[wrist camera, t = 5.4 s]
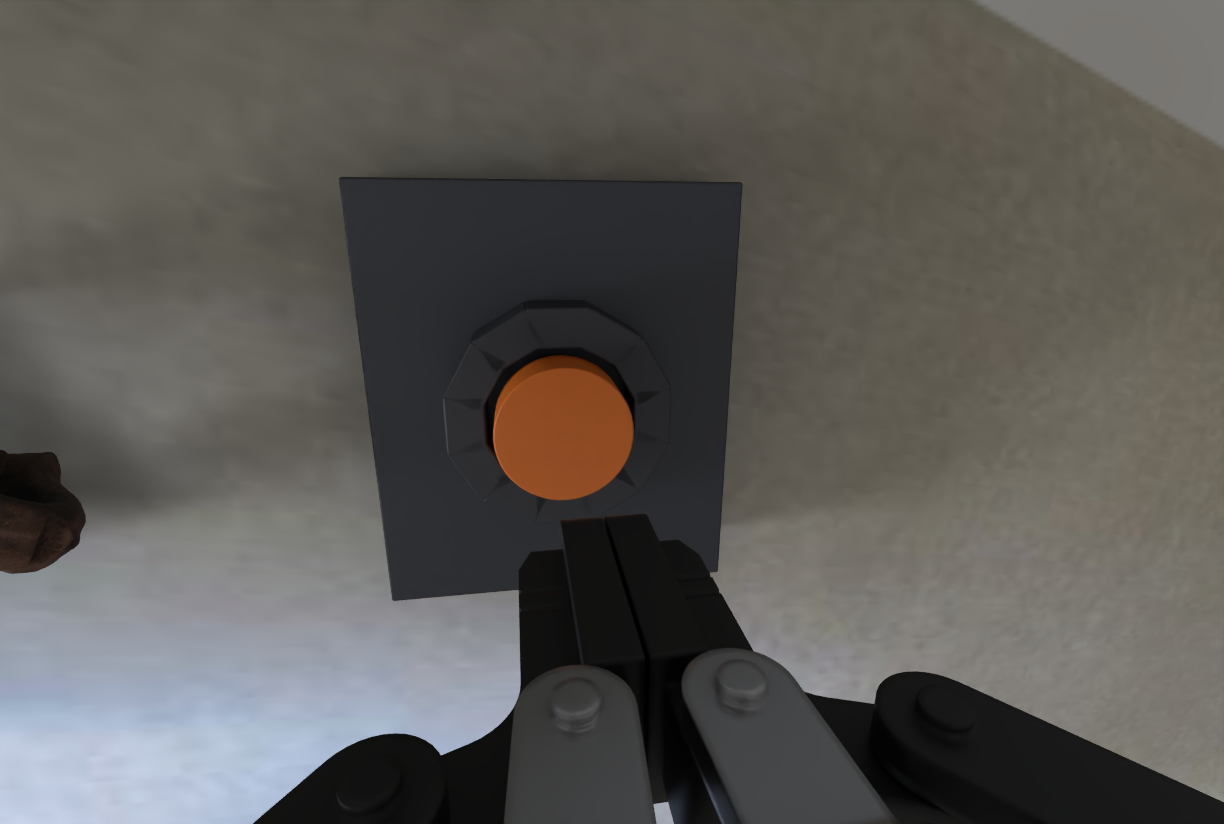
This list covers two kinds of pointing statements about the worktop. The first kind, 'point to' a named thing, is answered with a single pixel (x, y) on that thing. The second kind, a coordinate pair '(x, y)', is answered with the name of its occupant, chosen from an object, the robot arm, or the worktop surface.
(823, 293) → the worktop surface
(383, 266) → the push button base
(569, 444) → the power button
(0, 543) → the broken clay vessel
